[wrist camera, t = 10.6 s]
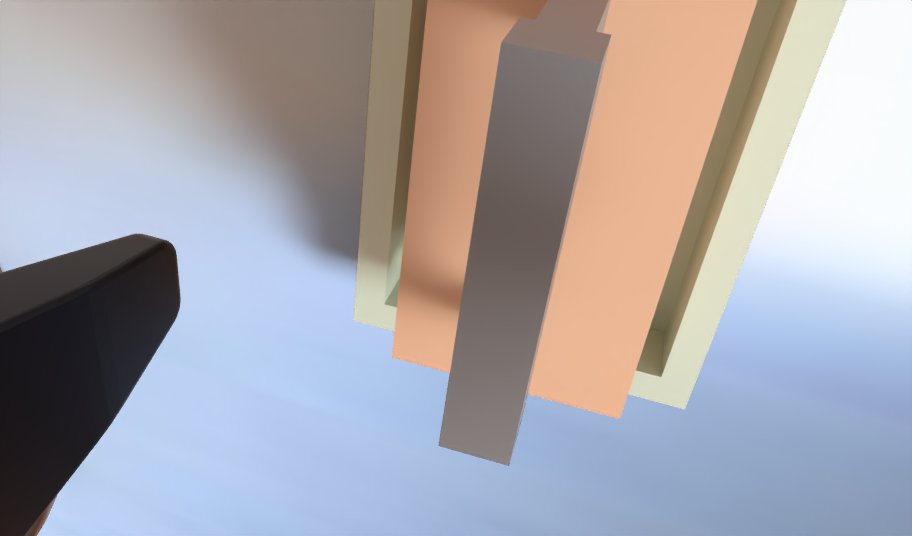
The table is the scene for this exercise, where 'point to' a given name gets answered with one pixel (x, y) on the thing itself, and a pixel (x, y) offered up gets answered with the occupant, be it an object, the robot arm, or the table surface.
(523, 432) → the table surface
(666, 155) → the tall peach cuboid
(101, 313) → the robot arm
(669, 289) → the tray
